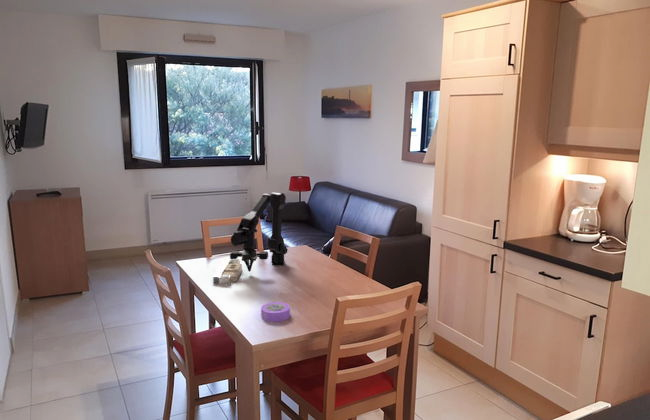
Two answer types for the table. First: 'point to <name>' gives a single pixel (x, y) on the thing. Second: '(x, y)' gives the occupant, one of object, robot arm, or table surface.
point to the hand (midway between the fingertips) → (249, 271)
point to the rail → (218, 276)
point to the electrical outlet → (233, 271)
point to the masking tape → (275, 311)
